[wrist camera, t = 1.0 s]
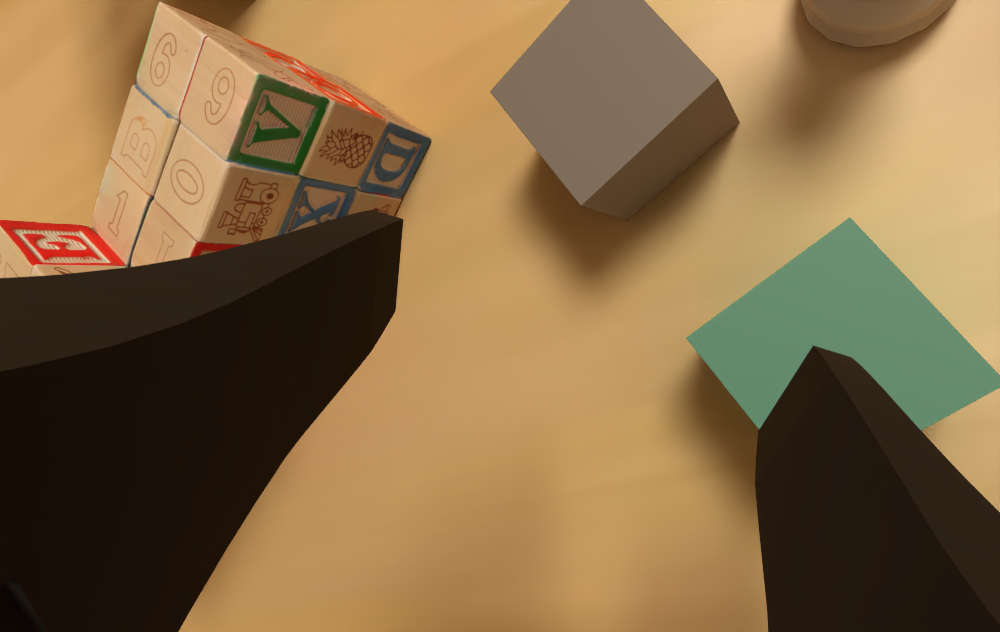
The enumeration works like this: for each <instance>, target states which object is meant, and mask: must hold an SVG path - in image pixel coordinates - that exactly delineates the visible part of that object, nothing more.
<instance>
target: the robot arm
mask: <svg viewBox="0 0 1000 632" xmlns="http://www.w3.org/2000/svg"><path fill="white" fill-rule="evenodd" d="M402 228H403V219H401V218H398V217H394V216H391V215H388V214H385V213H381V212H378V211H375V210H367V211H362V212H358V213H354V214H350V215H346V216H343V217H339V218H336V219H333V220H329V221H326V222H323V223H319V224H316V225H313V226H309V227H306V228H302V229H299V230H296V231H292V232H289V233H286V234H282V235H279V236H275V237H272V238H268V239H264V240H260V241H256V242H252V243H248V244H244V245H240V246H237V247H233V248H229V249H225V250H221V251H217V252H212V253H208V254H203V255H198V256H193V257H188V258H183V259H178V260H172V261H166V262H160V263H154V264H148V265H141V266H134V267H126V268H117V269H107V270H98V271H89V272H79V273H70V274H60V275H47V276H30V277H13V278H0V632H178V631H179V630H180V628H181V626H182V624H183V622H184V621H185V619H186V617H187V615H188V613H189V612H190V610H191V608H192V607H193V605H194V603H195V601H196V600H197V598H198V596H199V595H200V593H201V591H202V590H203V588H204V586H205V584H206V583H207V581H208V579H209V578H210V576H211V574H212V573H213V571H214V569H215V567H216V566H217V564H218V562H219V561H220V559H221V557H222V556H223V554H224V552H225V551H226V549H227V547H228V546H229V544H230V543H231V541H232V539H233V538H234V536H235V535H236V533H237V531H238V530H239V528H240V527H241V525H242V523H243V522H244V520H245V519H246V517H247V515H248V514H249V512H250V511H251V509H252V507H253V506H254V504H255V503H256V501H257V500H258V498H259V497H260V495H261V494H262V492H263V491H264V489H265V487H266V486H267V484H268V483H269V481H270V480H271V478H272V477H273V475H274V474H275V472H276V471H277V469H278V468H279V466H280V465H281V463H282V462H283V460H284V459H285V457H286V456H287V455H288V453H289V452H290V451H291V449H292V448H293V447H294V445H295V444H296V443H297V441H298V440H299V439H300V437H301V436H302V435H303V434H304V433H305V431H306V430H307V429H308V428H309V427H310V425H311V424H312V423H313V422H314V421H315V419H316V418H317V417H318V416H319V414H320V413H321V412H322V411H323V410H324V408H325V407H326V406H327V405H328V404H329V402H330V401H331V400H332V399H333V398H334V396H335V395H336V394H337V393H338V392H339V390H340V389H341V388H342V387H343V386H344V384H345V383H346V382H347V381H348V379H349V378H350V377H351V376H352V375H353V373H354V372H355V371H356V370H357V368H358V367H359V366H360V365H361V363H362V362H363V361H364V360H365V358H366V357H367V356H368V355H369V353H370V352H371V351H372V349H373V347H374V346H375V344H376V343H377V341H378V340H379V338H380V336H381V335H382V333H383V331H384V330H385V328H386V326H387V325H388V323H389V321H390V319H391V318H392V316H393V314H394V312H395V309H396V297H397V286H398V274H399V263H400V251H401V239H402ZM755 488H756V500H757V511H758V522H759V533H760V543H761V552H762V562H763V572H764V582H765V592H766V602H767V613H768V632H1000V512H999V511H998V510H997V509H996V508H995V507H994V506H993V505H992V504H991V503H990V502H989V501H988V500H987V499H986V498H985V497H984V496H983V495H982V494H981V493H980V492H979V491H978V490H977V489H976V488H975V487H974V486H973V485H972V484H971V483H970V482H969V481H968V480H967V479H966V478H965V477H964V476H963V475H962V474H961V473H960V472H959V471H958V470H957V469H956V468H955V467H954V466H953V465H952V464H951V463H950V462H949V460H948V459H947V458H946V457H945V456H944V455H943V454H942V453H941V452H940V451H939V450H938V449H937V448H936V446H935V445H934V444H933V443H932V442H931V441H930V440H929V439H928V438H927V437H926V436H925V434H924V433H923V432H922V431H921V430H920V429H919V428H918V427H917V426H916V425H915V423H914V422H913V421H912V420H911V419H910V418H909V417H908V416H907V415H906V413H905V412H904V411H903V410H902V409H901V408H900V407H899V406H898V405H897V403H896V402H895V401H894V400H893V399H892V398H891V397H890V396H889V395H888V393H887V392H886V391H885V390H884V389H883V388H882V387H881V386H880V385H879V384H878V383H877V381H876V380H875V379H874V378H873V377H872V376H871V375H870V374H869V373H868V372H867V371H866V370H865V369H864V368H863V367H862V366H861V365H860V364H859V363H858V362H857V361H855V360H854V359H853V358H852V357H849V356H846V355H843V354H839V353H836V352H833V351H830V350H826V349H823V348H820V347H817V346H812V348H811V349H810V351H809V353H808V354H807V356H806V357H805V359H804V360H803V362H802V363H801V365H800V367H799V368H798V370H797V371H796V373H795V374H794V376H793V378H792V379H791V381H790V382H789V384H788V385H787V387H786V389H785V390H784V392H783V393H782V395H781V396H780V398H779V400H778V401H777V403H776V404H775V406H774V407H773V409H772V410H771V412H770V414H769V415H768V417H767V418H766V420H765V421H764V423H763V425H762V426H761V428H760V429H759V431H758V442H757V455H756V476H755Z"/></svg>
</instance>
